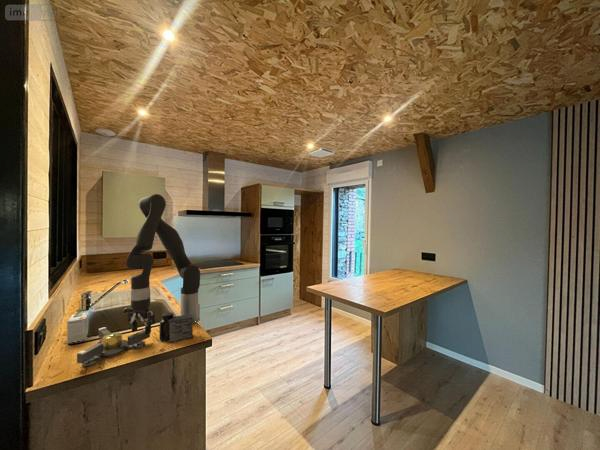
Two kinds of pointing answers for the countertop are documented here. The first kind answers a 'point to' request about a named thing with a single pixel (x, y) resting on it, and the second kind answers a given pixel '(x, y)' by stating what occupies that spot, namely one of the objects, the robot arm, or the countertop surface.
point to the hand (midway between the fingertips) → (141, 332)
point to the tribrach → (112, 348)
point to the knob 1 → (89, 353)
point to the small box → (180, 328)
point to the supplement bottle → (165, 326)
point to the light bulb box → (77, 327)
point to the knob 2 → (137, 337)
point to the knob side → (103, 332)
